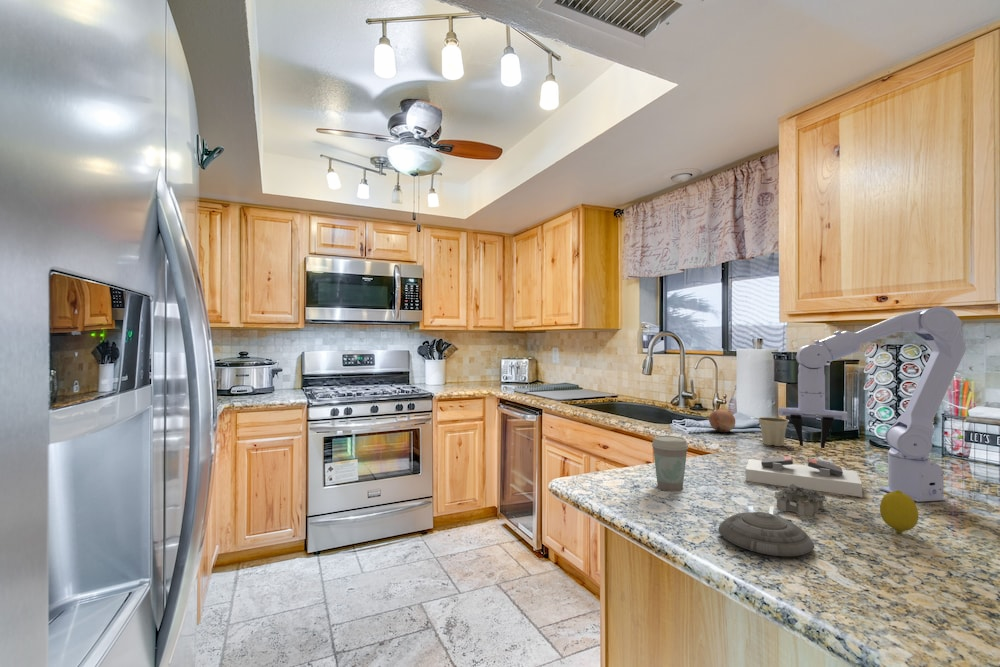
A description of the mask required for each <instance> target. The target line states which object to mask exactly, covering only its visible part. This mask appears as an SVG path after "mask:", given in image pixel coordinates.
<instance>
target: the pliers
mask: <svg viewBox="0 0 1000 667" xmlns="http://www.w3.org/2000/svg"><path fill="white" fill-rule="evenodd" d="M817 461H820V462H824V463H828V464H831V465H834V466H837V465H836V463H835V462H834V461H833V459H832V458H828V459H824V458H822V457H820V456H817ZM841 469H842V470H847V469H845V468H843V467H841Z"/></svg>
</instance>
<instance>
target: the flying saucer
mask: <svg viewBox="0 0 1000 667" xmlns="http://www.w3.org/2000/svg"><path fill="white" fill-rule="evenodd" d="M718 532H719V534H720V535H721V536H722V537H723V538H724V539H725V540H726V541H728V542H729V543H732V544H734V545H736V546H738V547H740V548H742V549H744V550H747V551H751V552H754V553H758V554H762V555H769V556H774V557H797V556H803V555H806V554H808V553H811V552H812V551H813V550H814V549H815V544H814V542H813V539H812V538H811V537H810V536H809V535H808V534H807V532H806V531H805V530H803V529H802V528H801V527H800V526H798V525H797V524H795V523H793V522H792V521H790V520H788V519H786V518H783V517H780V516H777V515H775V514H772V513H768V512H764V511H752V512H751V511H749V512H740V513H736V514H733V515H731V516H729V517H727V518H726V519H724V520H723V521H722V522H721V523H720V525H719V526H718Z"/></svg>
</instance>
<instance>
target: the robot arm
mask: <svg viewBox="0 0 1000 667" xmlns="http://www.w3.org/2000/svg"><path fill="white" fill-rule="evenodd" d="M962 324H963V321H962V320H961V318H960V317H959V316H958V315H957V314H956V313H955V312H954V311H953V310H951V309H950V308H948V307H944V306H933V307H931V308H919V309H916V310H914V311H911V312H905V313H901V314H897V315H894V316H892V317H889V318H887V319H885V320H882V321H880V322H878V323H876V324H873V325H870V326H868V327H866V328H863V329H861V330H859V331H857V332H856V331H855V332H852V331H848V330H844V331H841V330H837V331H834V332H833V335H830V336H828V337H825V338H822V339H820V340H819V339H816V340H814V341H813V344H807V345H803V346H801V347H800V348H799V349H798V350H797V352H796V355H795V360H796V361H797V364H798V367H797V368H798V370H797V371H798V374H797V396H798V397H797V398H798V399H797V402H798V406H797V407H783V406H782V407H781V406H780V407H779V406H778V408H777V410H778V412H777V413H778V414H777V415H778V416H782V417H783V416H786V417H788V416H789V417H790V421H791V423H792V425H793V427H794V429H795V432H796V435H797V439H798V441H799V442H798V444H799V446H800V447H804V439H803V419H802V418H814V419H820V426H821V429H820V430H821V434H820V448H821V449H825V446H826V441H827V438H828V435H829V433H830V430H831V429H832V427H833V425H834V424H835V420H841V421H848V412H847V411H842V410H830V409H826V375H825V365H827V363H828V362H830V363H831V362H833V361H837V360H839V359H842V358H844V357H846V356H847V357H848V356H850V355H852V354H855V353H858V352H859V351H860V348H861V346H862V345H863V344H866V343H869V342H872V341H875V340H878V339H881V338H885V337H887V336H890V335H893V334H896V333H898V332H900V333H902V332H903V333H904V332H905V333H909V332H910V333H912V332H913V334H915V335H917V336H918V337H920V338H921V339H923V341H924V342H925V343H926V344H927V346H928V347H929V348H930V350H931V353H930V356H929V358H928V360H927V363H926V365H925V367H924V369H923V371H922V373H921V376H920V378H919V380H918V382H917V384H916V386H915V389H914V390H913V393H912V395H911V398H910V399H909V402H908V404H907V406H906V408H905V411H904V412H903V413H902V414H900V416H898V418H897V419H896V421H895V423H894V424H893V425H891V426H890V427H889V428H887V429H886V432H885V433H884V434H885V435H884V437H885V441H886V442H887V444H888V446H890V449H889V450H888V451H887V460H888V461H887V464H888V466H887V468H888V469H887V470H888V471H887V472H888V474H887V475H888V477H887V478H888V482H887V483H888V485H887V486H878V489H879V490H881V491H884V492H887V493H890V492H895V491H896V490H899V491H901V492H902V493H904V494H906V495H908V496H909V497H910V498H912V499H913V501H914V502H919V503H920V502H936V501H947V500H948V499H947V497H946V496H945V497H944V495H945V493H944V491H945V490H944V471H943V469H942V467H941V466H940V465H939V464H938V463H937V462H933V461H931V460H930V459H929V454H930V453H931V452H932V449H933V440H932V438H933V435H934V433H935V429H934V425H933V424H934V423H933V421H934V419H935V416H937V415H936V414H937V413H938V410H939V408H940V406H941V404H942V402H943V400H944V397H945V395H946V394H947V391H948V390H949V387H950V385H951V383H952V381H953V378H954V376H955V374H956V372H957V370H958V368H959V366H960V363H961V362H962V358H963V356H964V355H965V352H966V350H967V349H966V344H965V340H964V336H963V331H962Z"/></svg>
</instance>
